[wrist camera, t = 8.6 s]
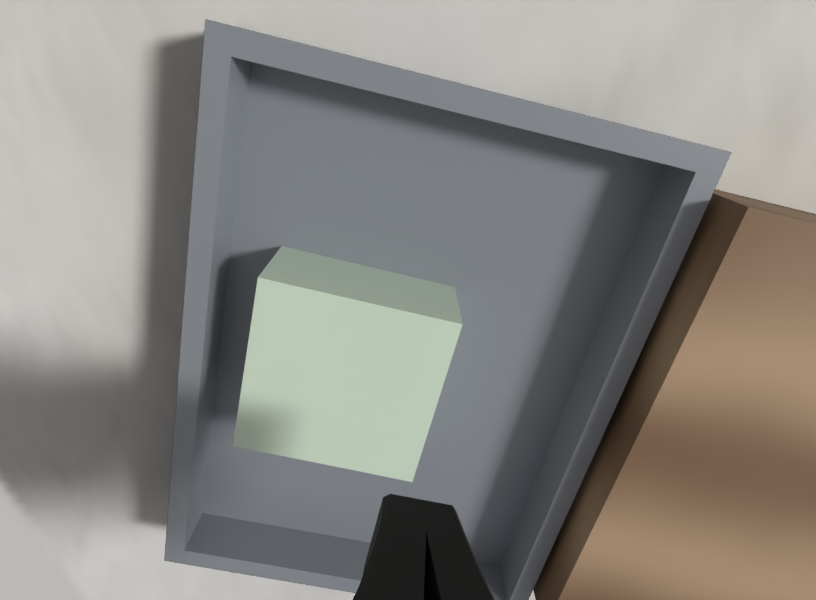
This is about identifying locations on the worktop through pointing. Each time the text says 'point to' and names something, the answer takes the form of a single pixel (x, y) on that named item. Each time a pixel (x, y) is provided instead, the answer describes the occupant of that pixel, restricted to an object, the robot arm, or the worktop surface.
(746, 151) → the worktop surface
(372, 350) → the block
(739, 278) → the wooden cutting board
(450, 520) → the robot arm
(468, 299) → the tray
